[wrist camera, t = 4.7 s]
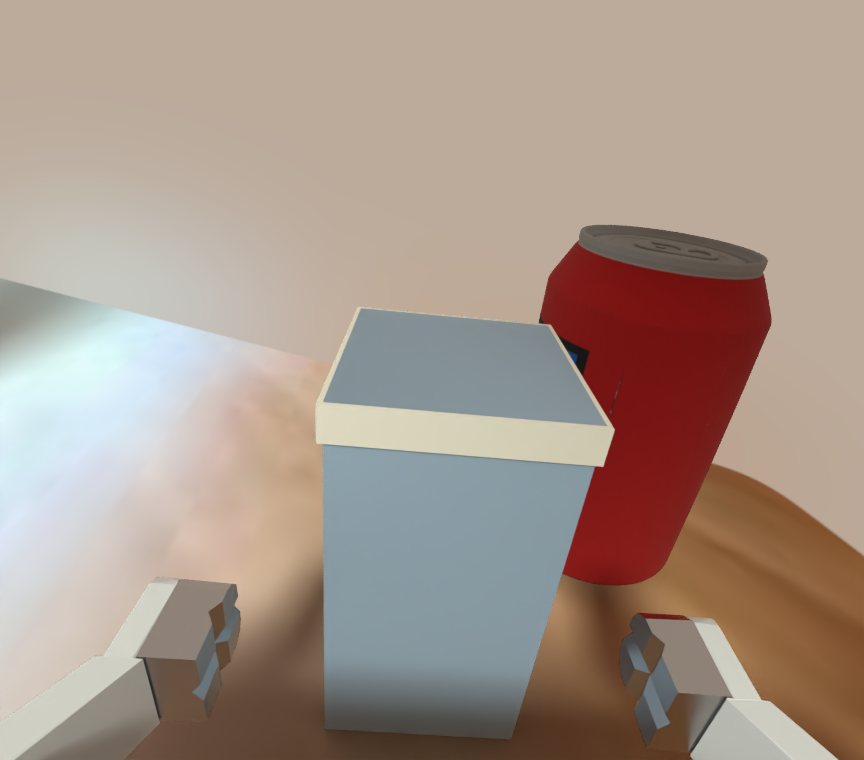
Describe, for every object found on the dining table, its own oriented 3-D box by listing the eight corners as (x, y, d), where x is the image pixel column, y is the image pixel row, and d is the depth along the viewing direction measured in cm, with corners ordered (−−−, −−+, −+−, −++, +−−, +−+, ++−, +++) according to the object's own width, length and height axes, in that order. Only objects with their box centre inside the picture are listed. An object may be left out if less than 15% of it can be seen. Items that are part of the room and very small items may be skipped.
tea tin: (319, 732, 13) (315, 404, 8) (349, 573, 17) (358, 306, 13) (515, 744, 13) (614, 429, 8) (493, 583, 18) (551, 324, 13)
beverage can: (527, 463, 24) (584, 214, 19) (670, 517, 22) (784, 247, 16) (471, 549, 19) (529, 235, 14) (653, 635, 16) (815, 288, 11)
